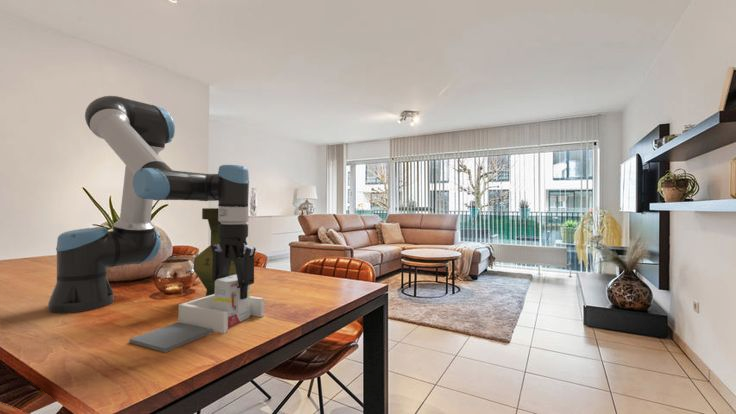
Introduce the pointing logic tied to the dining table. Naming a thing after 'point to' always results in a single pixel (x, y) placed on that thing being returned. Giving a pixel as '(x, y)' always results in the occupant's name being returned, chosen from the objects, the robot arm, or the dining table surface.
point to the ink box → (230, 299)
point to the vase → (209, 253)
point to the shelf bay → (213, 313)
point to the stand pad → (170, 336)
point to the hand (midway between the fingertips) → (232, 309)
